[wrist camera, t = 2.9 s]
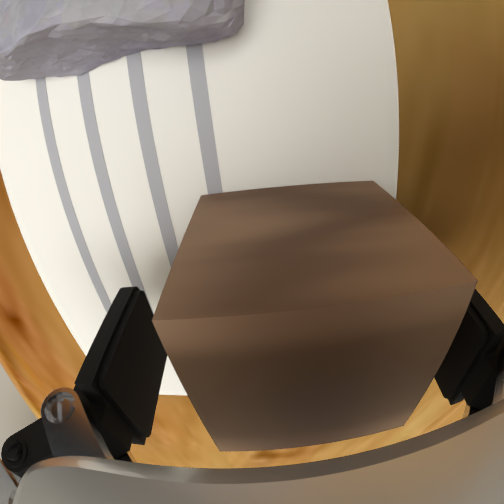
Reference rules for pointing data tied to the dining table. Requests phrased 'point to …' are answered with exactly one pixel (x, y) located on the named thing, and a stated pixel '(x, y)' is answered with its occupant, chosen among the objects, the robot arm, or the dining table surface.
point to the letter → (192, 143)
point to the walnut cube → (308, 313)
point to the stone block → (103, 31)
